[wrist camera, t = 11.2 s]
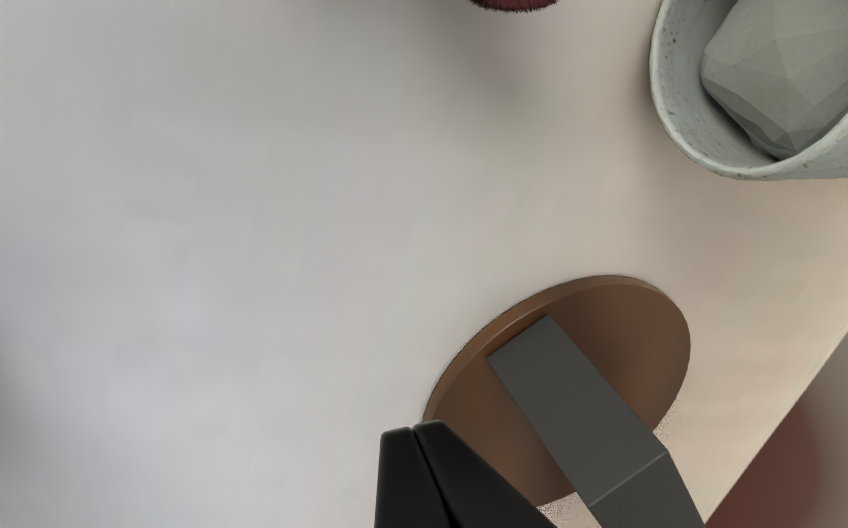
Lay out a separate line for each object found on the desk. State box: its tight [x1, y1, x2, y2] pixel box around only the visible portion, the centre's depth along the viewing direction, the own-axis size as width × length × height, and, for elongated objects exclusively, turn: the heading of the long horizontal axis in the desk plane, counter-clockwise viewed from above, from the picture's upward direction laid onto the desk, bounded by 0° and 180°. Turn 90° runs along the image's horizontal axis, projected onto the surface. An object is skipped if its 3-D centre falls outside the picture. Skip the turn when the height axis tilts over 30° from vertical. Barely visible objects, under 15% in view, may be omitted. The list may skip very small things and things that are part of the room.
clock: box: [486, 314, 706, 528], centre depth 27 cm, size 3×12×7 cm, turn 29°
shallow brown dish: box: [422, 276, 691, 507], centre depth 30 cm, size 13×13×1 cm
